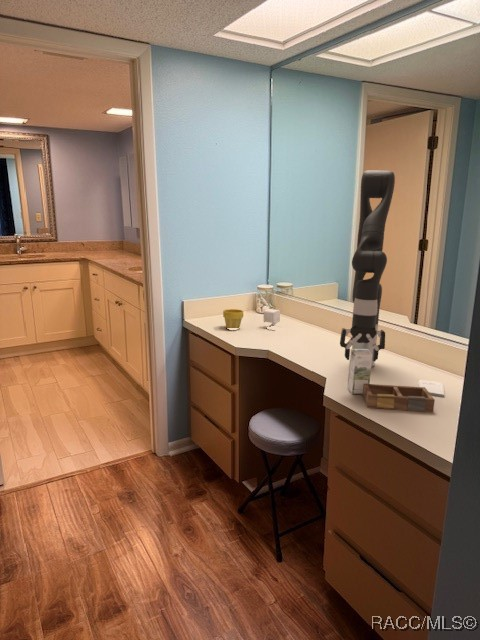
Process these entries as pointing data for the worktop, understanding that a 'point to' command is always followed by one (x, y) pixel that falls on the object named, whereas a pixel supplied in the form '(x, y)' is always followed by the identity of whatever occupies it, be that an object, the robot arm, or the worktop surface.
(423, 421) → the worktop surface
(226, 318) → the plant pot
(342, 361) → the worktop surface
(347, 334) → the robot arm
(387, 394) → the socket block
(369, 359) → the syrup box
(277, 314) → the security camera
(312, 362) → the worktop surface
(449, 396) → the worktop surface
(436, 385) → the external hard drive
